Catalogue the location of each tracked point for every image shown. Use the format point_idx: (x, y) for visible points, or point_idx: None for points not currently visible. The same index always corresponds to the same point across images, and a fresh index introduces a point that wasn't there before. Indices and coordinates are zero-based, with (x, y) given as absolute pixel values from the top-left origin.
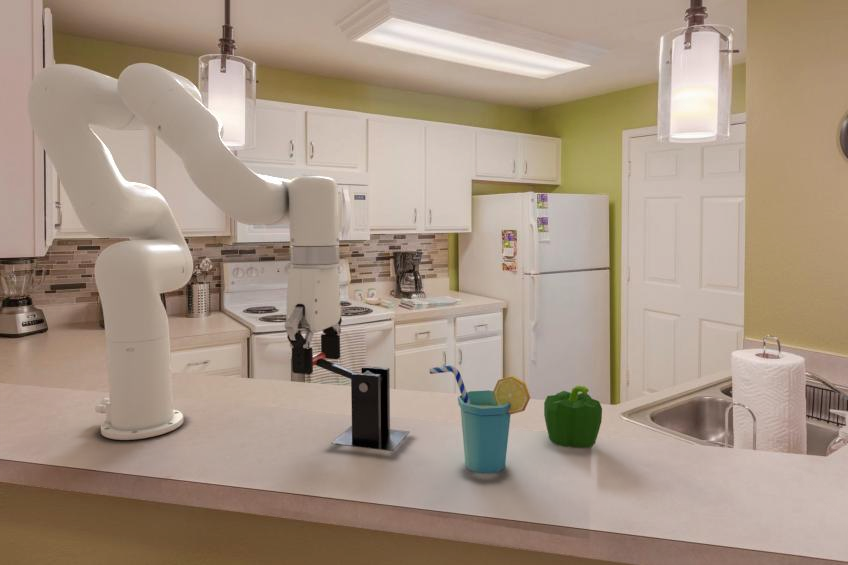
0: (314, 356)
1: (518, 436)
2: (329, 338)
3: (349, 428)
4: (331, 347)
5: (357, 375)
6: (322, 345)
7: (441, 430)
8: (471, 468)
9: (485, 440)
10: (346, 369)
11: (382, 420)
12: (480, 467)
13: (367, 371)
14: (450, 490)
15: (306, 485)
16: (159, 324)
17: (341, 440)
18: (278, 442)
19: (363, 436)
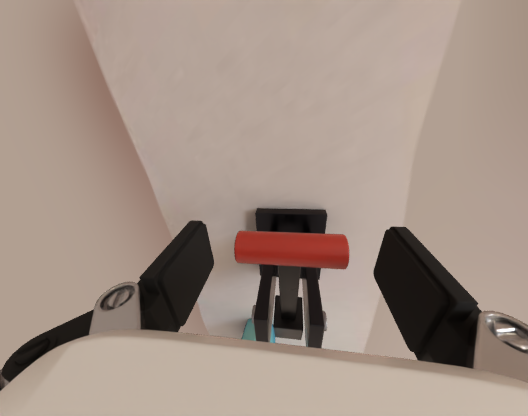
0: (279, 263)
1: (345, 344)
2: (419, 320)
3: (312, 215)
4: (394, 290)
5: (254, 326)
6: (410, 264)
7: (351, 294)
8: (245, 328)
9: None
10: (289, 303)
11: (302, 271)
12: (242, 336)
13: (296, 331)
14: (223, 311)
15: (174, 218)
16: None
17: (267, 221)
18: (257, 121)
19: None
